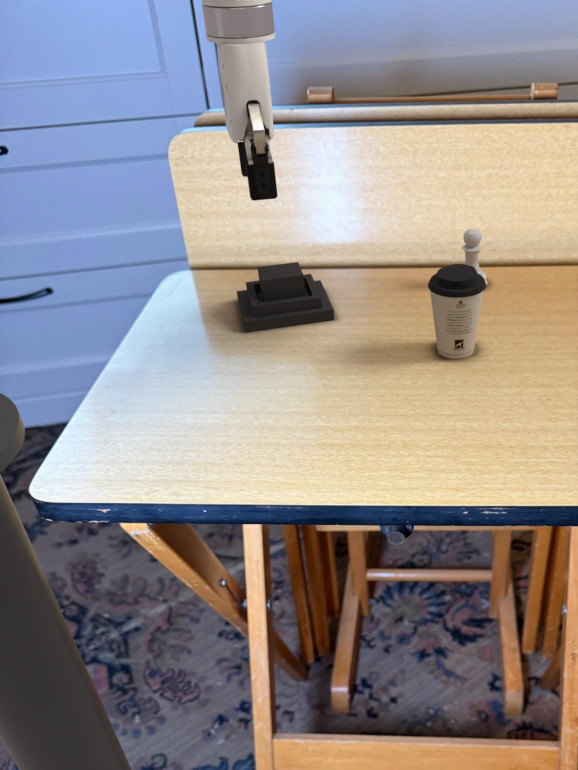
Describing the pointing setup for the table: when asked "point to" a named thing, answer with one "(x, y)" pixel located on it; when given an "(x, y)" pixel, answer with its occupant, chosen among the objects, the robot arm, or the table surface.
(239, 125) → the robot arm
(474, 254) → the chess piece
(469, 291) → the coffee cup
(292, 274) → the black block
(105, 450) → the table surface
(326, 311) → the base pad
